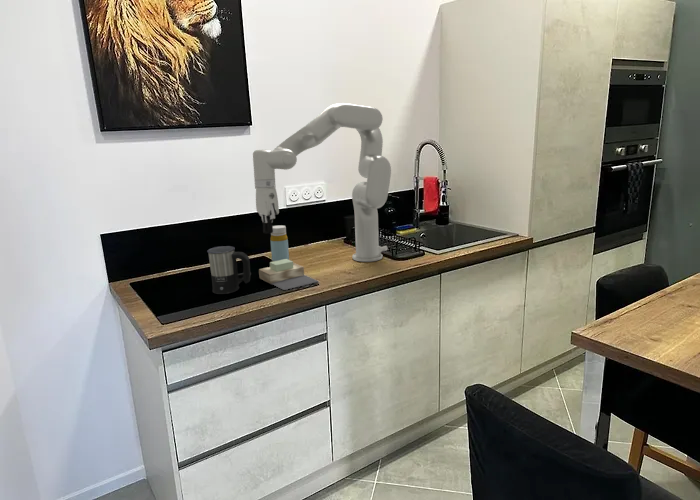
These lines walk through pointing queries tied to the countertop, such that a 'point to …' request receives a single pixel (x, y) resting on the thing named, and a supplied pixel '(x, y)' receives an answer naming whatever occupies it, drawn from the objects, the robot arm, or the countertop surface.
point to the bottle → (279, 243)
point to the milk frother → (227, 269)
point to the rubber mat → (294, 282)
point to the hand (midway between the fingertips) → (268, 232)
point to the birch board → (280, 273)
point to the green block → (281, 265)
